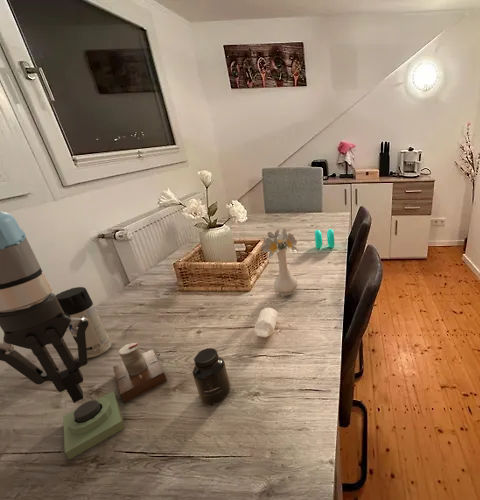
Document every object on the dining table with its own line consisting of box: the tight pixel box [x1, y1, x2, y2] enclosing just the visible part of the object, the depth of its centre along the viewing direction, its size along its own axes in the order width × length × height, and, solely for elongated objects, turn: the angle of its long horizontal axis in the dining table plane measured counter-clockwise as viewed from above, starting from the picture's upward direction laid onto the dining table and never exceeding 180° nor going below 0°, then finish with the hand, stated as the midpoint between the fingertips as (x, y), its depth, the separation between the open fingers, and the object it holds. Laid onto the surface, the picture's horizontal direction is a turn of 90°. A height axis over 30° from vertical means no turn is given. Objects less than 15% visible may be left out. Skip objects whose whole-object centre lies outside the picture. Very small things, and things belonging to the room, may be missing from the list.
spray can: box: [55, 286, 112, 359], centre depth 79 cm, size 7×7×20 cm
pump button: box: [74, 399, 101, 423], centre depth 60 cm, size 4×4×2 cm
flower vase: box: [260, 228, 299, 297], centre depth 106 cm, size 13×18×25 cm
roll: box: [253, 307, 279, 338], centre depth 87 cm, size 6×12×6 cm, turn 5°
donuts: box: [314, 228, 335, 249], centre depth 150 cm, size 10×10×10 cm
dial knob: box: [118, 342, 147, 375], centre depth 71 cm, size 4×4×7 cm
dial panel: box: [112, 348, 168, 404], centre depth 73 cm, size 12×9×3 cm
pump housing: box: [62, 390, 126, 460], centre depth 61 cm, size 11×9×4 cm
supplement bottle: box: [192, 347, 231, 405], centre depth 66 cm, size 7×7×12 cm
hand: (78, 396), depth 58 cm, fingers closed
